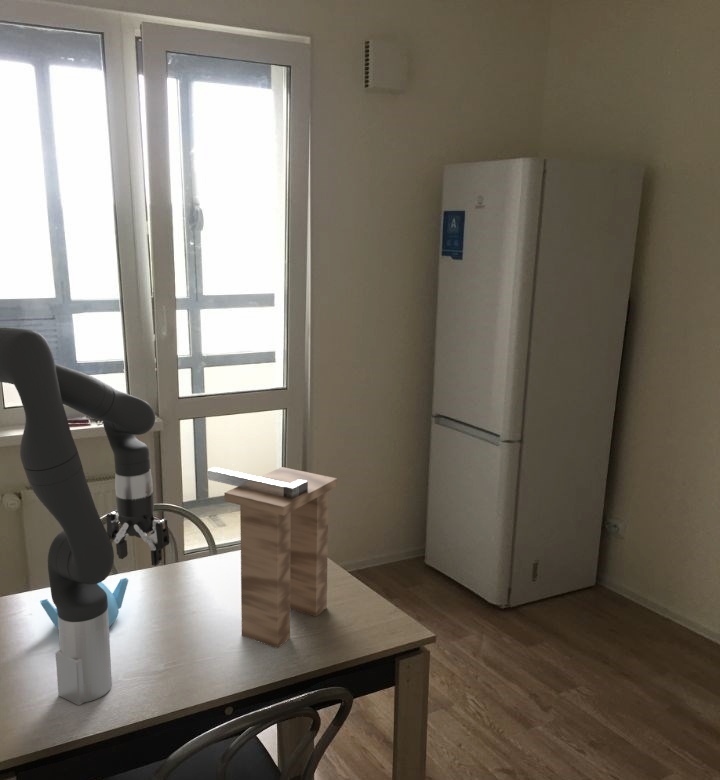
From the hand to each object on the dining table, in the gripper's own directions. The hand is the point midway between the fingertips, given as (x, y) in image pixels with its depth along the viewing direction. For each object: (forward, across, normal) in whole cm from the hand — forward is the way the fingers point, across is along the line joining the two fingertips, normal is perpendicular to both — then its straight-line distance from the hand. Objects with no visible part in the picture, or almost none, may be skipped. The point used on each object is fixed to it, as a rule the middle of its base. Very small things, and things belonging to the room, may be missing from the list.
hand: (139, 560), depth 153 cm
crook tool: (-13, +18, +20) cm, 30 cm away
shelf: (+21, +24, +21) cm, 38 cm away
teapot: (+21, -18, +2) cm, 27 cm away
